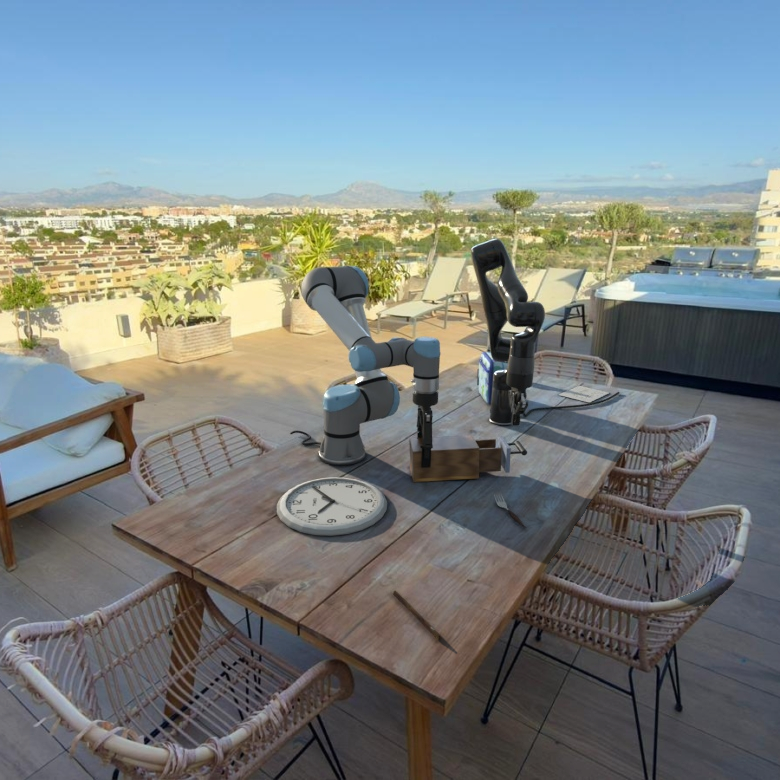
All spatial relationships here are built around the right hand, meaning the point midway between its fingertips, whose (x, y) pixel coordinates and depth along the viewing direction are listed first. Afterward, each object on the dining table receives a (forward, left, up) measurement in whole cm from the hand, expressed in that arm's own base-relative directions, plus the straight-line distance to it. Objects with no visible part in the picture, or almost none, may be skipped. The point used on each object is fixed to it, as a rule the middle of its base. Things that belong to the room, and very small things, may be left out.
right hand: (515, 424), depth 159 cm
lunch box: (-25, -69, -16) cm, 75 cm away
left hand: (+27, -5, -11) cm, 30 cm away
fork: (+12, +23, -16) cm, 30 cm away
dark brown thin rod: (+48, +54, -16) cm, 74 cm away
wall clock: (+57, +8, -16) cm, 60 cm away
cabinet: (+21, -4, -16) cm, 26 cm away
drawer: (+8, -2, -14) cm, 16 cm away
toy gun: (-39, -106, -16) cm, 114 cm away
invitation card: (-71, -67, -16) cm, 99 cm away
